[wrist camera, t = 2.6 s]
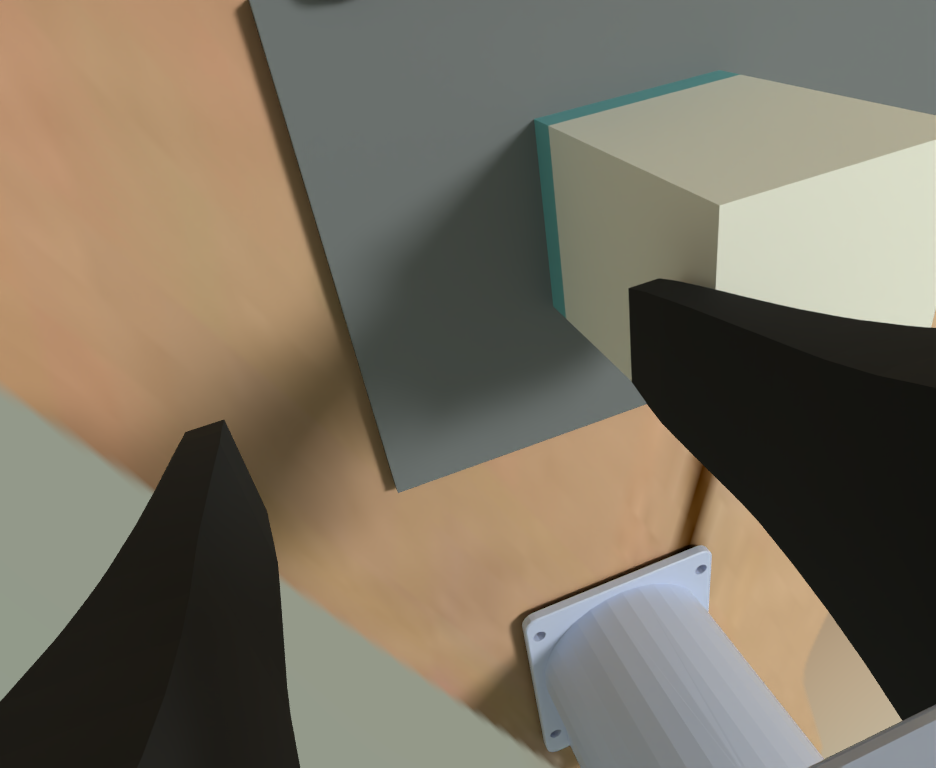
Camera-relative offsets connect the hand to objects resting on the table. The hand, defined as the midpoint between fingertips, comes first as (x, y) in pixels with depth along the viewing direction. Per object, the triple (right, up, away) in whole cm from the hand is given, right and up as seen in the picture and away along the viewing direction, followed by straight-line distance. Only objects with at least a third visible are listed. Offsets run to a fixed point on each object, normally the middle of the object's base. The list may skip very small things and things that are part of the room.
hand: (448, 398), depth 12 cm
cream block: (+5, +5, +6) cm, 9 cm away
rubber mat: (+6, +5, +7) cm, 10 cm away
